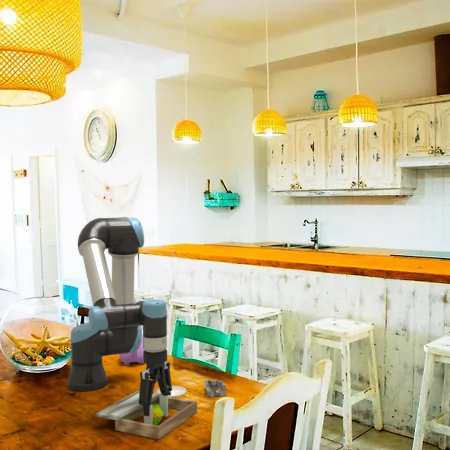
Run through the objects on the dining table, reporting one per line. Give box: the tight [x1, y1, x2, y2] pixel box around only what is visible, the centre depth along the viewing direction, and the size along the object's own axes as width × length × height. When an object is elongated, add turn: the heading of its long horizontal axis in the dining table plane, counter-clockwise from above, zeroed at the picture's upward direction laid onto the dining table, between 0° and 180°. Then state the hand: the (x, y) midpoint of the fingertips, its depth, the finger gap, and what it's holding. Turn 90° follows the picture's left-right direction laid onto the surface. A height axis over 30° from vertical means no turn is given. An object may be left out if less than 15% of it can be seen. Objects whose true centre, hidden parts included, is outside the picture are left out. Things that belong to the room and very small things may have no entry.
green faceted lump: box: [142, 404, 164, 426], centre depth 172 cm, size 7×6×9 cm
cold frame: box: [95, 389, 198, 440], centre depth 176 cm, size 23×24×4 cm
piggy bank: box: [118, 334, 145, 366], centre depth 241 cm, size 20×12×13 cm, turn 14°
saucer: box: [155, 385, 187, 398], centre depth 201 cm, size 11×11×1 cm
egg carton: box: [204, 379, 227, 398], centre depth 201 cm, size 11×8×4 cm
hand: (156, 420), depth 174 cm, fingers open, 8 cm apart
